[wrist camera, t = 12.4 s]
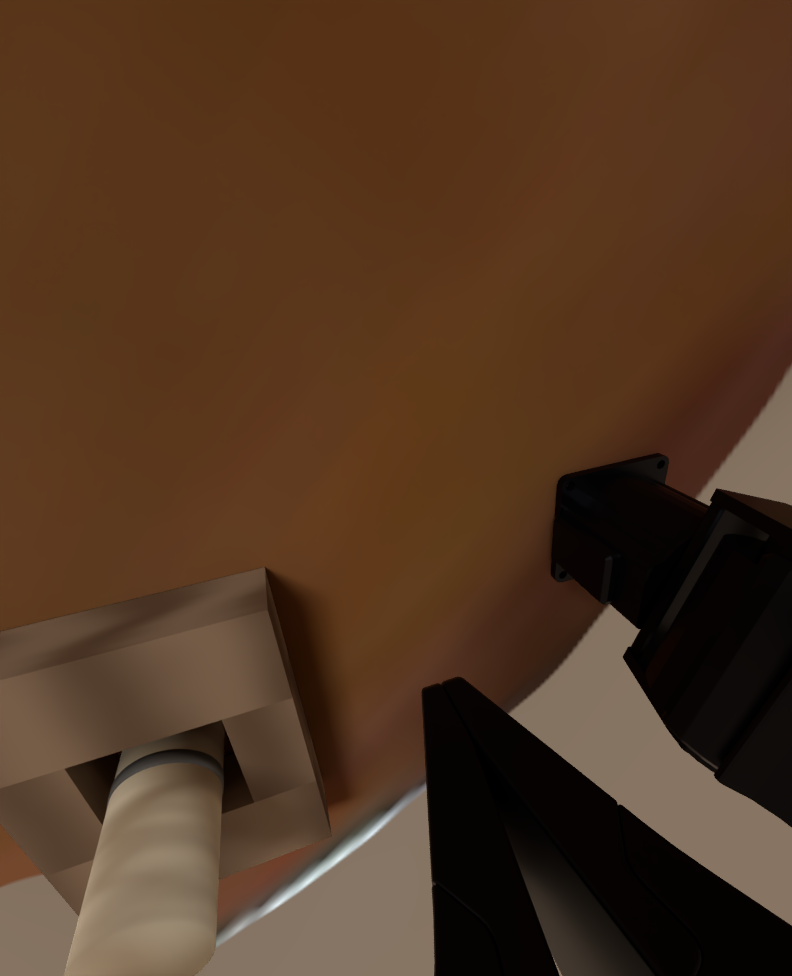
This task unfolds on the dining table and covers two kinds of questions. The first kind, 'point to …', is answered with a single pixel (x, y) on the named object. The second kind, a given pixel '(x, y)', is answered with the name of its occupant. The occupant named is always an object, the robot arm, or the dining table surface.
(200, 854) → the birch peg
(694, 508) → the robot arm
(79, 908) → the walnut board
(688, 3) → the dining table surface
